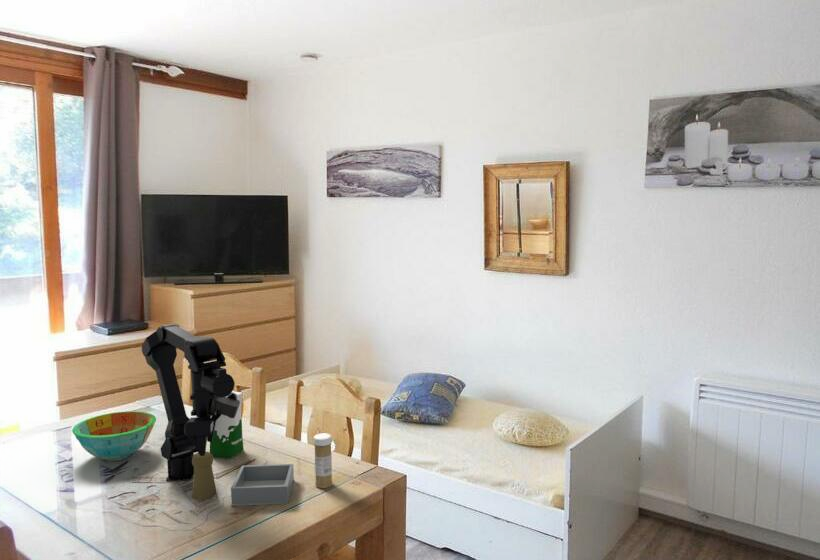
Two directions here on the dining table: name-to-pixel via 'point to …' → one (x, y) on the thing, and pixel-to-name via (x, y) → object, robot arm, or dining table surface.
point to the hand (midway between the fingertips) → (206, 448)
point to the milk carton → (228, 434)
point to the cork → (203, 477)
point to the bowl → (114, 434)
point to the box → (262, 485)
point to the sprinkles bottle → (323, 460)
